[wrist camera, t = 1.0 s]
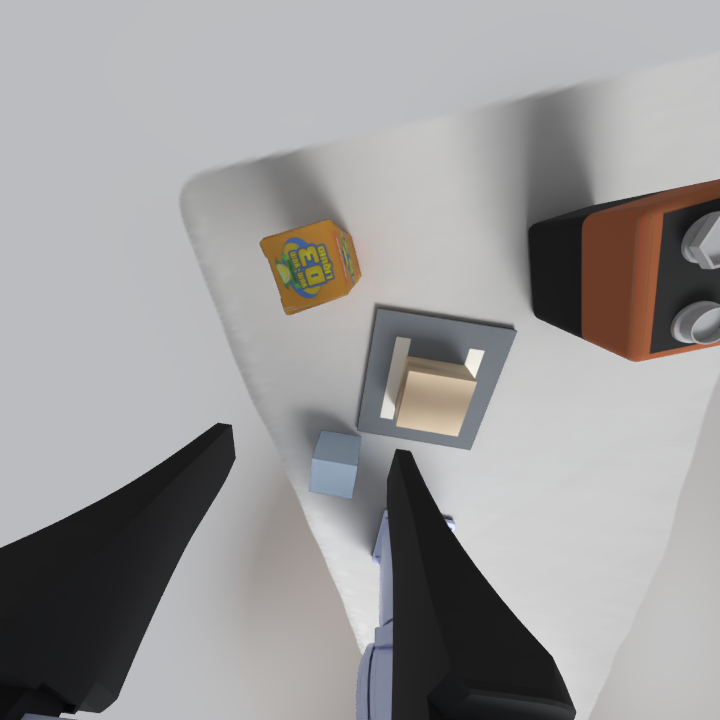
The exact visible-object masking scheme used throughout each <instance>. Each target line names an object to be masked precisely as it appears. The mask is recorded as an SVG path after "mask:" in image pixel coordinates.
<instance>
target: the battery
mask: <svg viewBox="0 0 720 720" xmlns="http://www.w3.org/2000/svg"><path fill="white" fill-rule="evenodd" d="M529 242H530V258H531V273H532V289H533V304H534V314H535V316H536V317H537V318H538V319H540V320H542V321H545V322H547V323H549V324H551V325H553V326H556V327H558V328H560V329H562V330H564V331H567V332H569V333H571V334H573V335H575V336H578V337H580V338H582V339H584V340H586V341H589V342H591V343H593V344H595V345H597V346H600V347H602V348H604V349H606V350H608V351H610V352H613V353H615V354H617V355H619V356H621V357H624V358H626V359H628V360H631V361H634V362H639V361H644V360H649V359H654V358H659V357H664V356H669V355H674V354H679V353H684V352H688V351H693V350H698V349H703V348H708V347H713V346H718V345H720V179H718V180H714V181H709V182H704V183H699V184H694V185H689V186H685V187H680V188H675V189H670V190H665V191H660V192H656V193H651V194H646V195H641V196H636V197H631V198H627V199H622V200H617V201H612V202H607V203H602V204H598V205H594V206H590V207H587V208H584V209H580V210H577V211H574V212H571V213H568V214H564V215H561V216H558V217H555V218H551V219H548V220H545V221H542V222H539V223H536V224H534V225H533V226H532V227H531V228H530V230H529Z"/></svg>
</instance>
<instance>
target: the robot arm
mask: <svg viewBox="0 0 720 720" xmlns="http://www.w3.org/2000/svg"><path fill="white" fill-rule="evenodd" d="M235 458H236V457H235V448H234V440H233V432H232V425H229V424H222V423H217V424H215V425H214V426H213V427H211V428H210V429H209V430H207V431H206V432H204V433H203V434H201V435H200V436H199V437H197V438H196V439H195V440H193V441H192V442H190V443H189V444H188V445H186V446H185V447H184V448H182V449H181V450H179V451H178V452H176V453H175V454H174V455H172V456H171V457H169V458H168V459H167V460H165V461H163V462H162V463H160V464H159V465H157V466H156V467H154V468H153V469H151V470H150V471H148V472H147V473H145V474H143V475H142V476H140V477H139V478H137V479H136V480H134V481H132V482H131V483H129V484H127V485H126V486H124V487H122V488H121V489H119V490H117V491H115V492H114V493H112V494H110V495H108V496H107V497H105V498H103V499H101V500H99V501H97V502H95V503H93V504H91V505H90V506H88V507H86V508H84V509H82V510H80V511H78V512H76V513H74V514H72V515H70V516H68V517H66V518H64V519H62V520H60V521H58V522H56V523H54V524H52V525H50V526H48V527H46V528H43V529H41V530H39V531H37V532H35V533H33V534H31V535H28V536H27V537H24V538H22V539H20V540H17V541H15V542H13V543H11V544H8V545H6V546H4V547H1V548H0V720H75V719H67V718H59V716H60V714H61V713H68V714H75V713H76V712H77V711H78V710H79V711H86V712H94V713H100V712H102V711H104V710H105V709H106V708H108V707H109V706H110V705H111V704H112V703H113V702H115V700H117V698H118V696H119V693H120V691H121V688H122V686H123V683H124V681H125V679H126V676H127V674H128V672H129V669H130V667H131V665H132V662H133V659H134V658H135V655H136V653H137V650H138V648H139V646H140V643H141V641H142V639H143V637H144V634H145V632H146V630H147V628H148V626H149V623H150V621H151V619H152V616H153V614H154V612H155V610H156V608H157V605H158V603H159V601H160V599H161V597H162V595H163V593H164V591H165V588H166V587H167V584H168V582H169V580H170V578H171V576H172V574H173V572H174V570H175V568H176V566H177V564H178V562H179V560H180V558H181V556H182V554H183V552H184V550H185V548H186V546H187V544H188V542H189V541H190V539H191V537H192V535H193V534H194V532H195V530H196V528H197V527H198V525H199V524H200V522H201V520H202V519H203V517H204V515H205V514H206V512H207V511H208V509H209V507H210V506H211V504H212V502H213V501H214V499H215V497H216V496H217V494H218V492H219V491H220V489H221V487H222V486H223V484H224V482H225V480H226V478H227V476H228V474H229V472H230V470H231V467H232V465H233V463H234V461H235ZM455 526H456V525H455V522H454V521H452V520H447V519H444V517H443V515H442V514H441V512H440V510H439V509H438V507H437V505H436V503H435V501H434V499H433V498H432V496H431V494H430V492H429V490H428V488H427V486H426V484H425V482H424V480H423V478H422V476H421V474H420V471H419V469H418V467H417V465H416V462H415V460H414V458H413V455H412V453H411V452H410V451H407V450H401V449H396V451H395V454H394V458H393V461H392V465H391V468H390V472H389V475H388V479H387V509H386V510H385V511H384V514H383V518H382V522H381V525H380V529H379V533H378V537H377V541H376V545H375V549H374V553H373V557H372V562H373V563H374V564H379V565H380V593H379V624H380V627H376V628H375V643H370V644H368V646H367V647H366V649H365V652H364V654H363V656H362V658H361V661H360V665H359V671H358V678H357V691H356V718H357V720H574V718H575V715H576V710H575V707H574V705H573V702H572V700H571V697H570V695H569V693H568V690H567V687H566V685H565V683H564V680H563V678H562V676H561V674H560V672H559V670H558V668H557V666H556V663H555V661H554V659H553V657H552V656H551V655H550V654H549V652H548V651H547V650H546V649H545V648H544V647H543V646H542V645H541V644H540V643H539V642H538V640H537V639H536V638H535V637H534V636H533V635H532V634H531V633H530V632H529V631H528V629H527V628H526V627H525V626H524V625H523V624H522V623H521V622H520V620H519V619H518V618H517V617H516V616H515V615H514V613H513V612H512V611H511V610H510V609H509V607H508V606H507V605H506V604H505V603H504V601H503V600H502V599H501V598H500V597H499V595H498V594H497V593H496V591H495V590H494V589H493V588H492V586H491V585H490V584H489V582H488V581H487V580H486V579H485V577H484V576H483V575H482V573H481V572H480V571H479V570H478V568H477V567H476V566H475V564H474V563H473V561H472V560H471V559H470V557H469V556H468V554H467V553H466V551H465V550H464V549H463V547H462V546H461V544H460V543H459V541H458V540H457V538H456V537H455V535H454V534H453V531H454V529H455Z"/></svg>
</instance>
